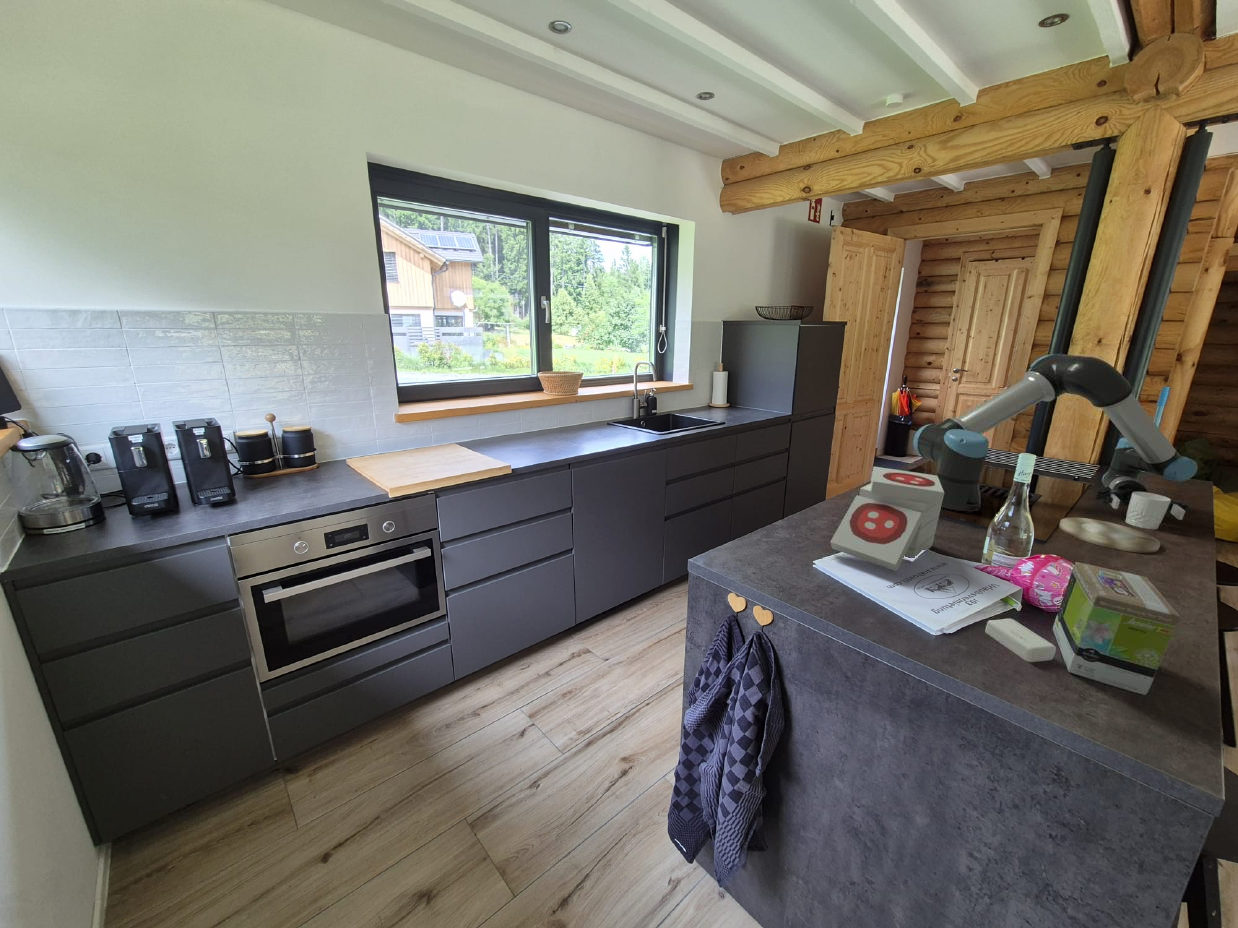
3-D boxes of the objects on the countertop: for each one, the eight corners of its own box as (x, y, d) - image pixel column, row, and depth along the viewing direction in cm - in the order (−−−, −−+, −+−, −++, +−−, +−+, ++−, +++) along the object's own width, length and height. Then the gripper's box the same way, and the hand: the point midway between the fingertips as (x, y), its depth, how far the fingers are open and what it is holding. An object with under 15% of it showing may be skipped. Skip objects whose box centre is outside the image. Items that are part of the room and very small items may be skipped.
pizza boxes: (820, 553, 123) (831, 484, 118) (869, 523, 143) (880, 463, 138) (903, 584, 110) (920, 507, 104) (945, 546, 129) (961, 480, 124)
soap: (1054, 661, 86) (1059, 646, 85) (1027, 664, 85) (1032, 649, 84) (1007, 630, 95) (1011, 616, 94) (982, 632, 94) (986, 618, 93)
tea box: (1149, 698, 78) (1183, 615, 74) (1066, 673, 83) (1093, 594, 79) (1121, 647, 90) (1148, 574, 86) (1050, 628, 95) (1073, 558, 91)
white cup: (1142, 523, 150) (1153, 492, 147) (1167, 534, 143) (1179, 501, 140) (1114, 521, 151) (1124, 490, 148) (1137, 532, 143) (1149, 499, 141)
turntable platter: (1065, 539, 134) (1067, 533, 134) (1054, 516, 150) (1055, 511, 150) (1170, 560, 124) (1172, 554, 123) (1145, 533, 140) (1147, 528, 139)
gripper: (1178, 510, 157) (1205, 532, 140) (1074, 493, 170) (1088, 511, 153) (1186, 487, 155) (1215, 507, 138) (1081, 472, 168) (1095, 488, 150)
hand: (1148, 509), depth 145 cm, fingers open, 13 cm apart
